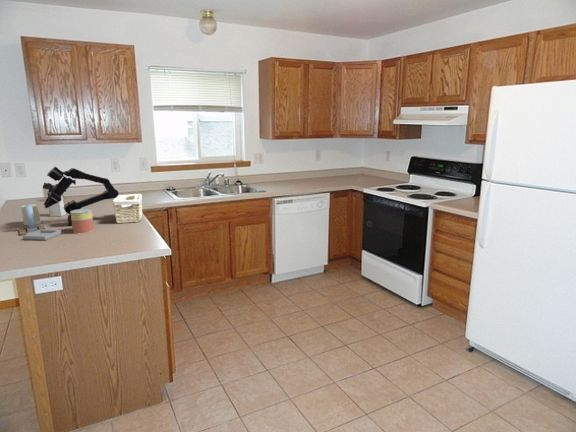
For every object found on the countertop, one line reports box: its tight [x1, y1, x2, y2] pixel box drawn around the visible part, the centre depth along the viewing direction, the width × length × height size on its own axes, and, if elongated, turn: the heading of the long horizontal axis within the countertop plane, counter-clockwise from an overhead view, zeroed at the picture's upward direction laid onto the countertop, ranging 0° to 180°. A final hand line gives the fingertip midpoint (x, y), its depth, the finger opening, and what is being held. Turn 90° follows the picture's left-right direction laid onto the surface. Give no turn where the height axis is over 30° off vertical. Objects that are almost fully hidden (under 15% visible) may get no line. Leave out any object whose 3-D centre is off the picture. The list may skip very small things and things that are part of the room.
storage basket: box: [112, 193, 143, 224], centre depth 258 cm, size 24×16×15 cm
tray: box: [22, 229, 63, 242], centre depth 220 cm, size 13×13×2 cm
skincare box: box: [45, 194, 67, 217], centre depth 269 cm, size 8×6×15 cm
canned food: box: [70, 208, 95, 234], centre depth 231 cm, size 11×11×12 cm
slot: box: [18, 225, 46, 237], centre depth 232 cm, size 14×12×1 cm
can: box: [20, 203, 42, 226], centre depth 248 cm, size 9×9×12 cm
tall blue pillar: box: [25, 204, 39, 233], centre depth 232 cm, size 7×5×15 cm
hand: (44, 206), depth 235 cm, fingers open, 9 cm apart
